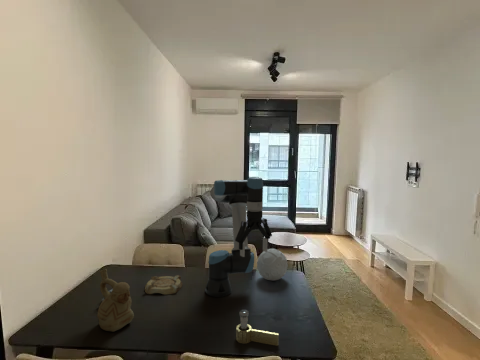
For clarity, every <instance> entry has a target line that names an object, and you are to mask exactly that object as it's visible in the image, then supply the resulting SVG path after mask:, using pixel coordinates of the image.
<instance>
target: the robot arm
mask: <svg viewBox="0 0 480 360" xmlns="http://www.w3.org/2000/svg"><path fill="white" fill-rule="evenodd" d="M209 193H210V197H211V198H212V200H214V201H216V202H218V203H222V204H223V203H224V204H226V203H228V206H229V207H230V209H231V218H232V220H231V221H232V237H233V240H232V241H233V248H232V249H231V252H229V251H228V250H227V249H226V250H225V249H224V250H223V249H220V250H215V251H213V252H211V253H210V254H209V256H208V279H207V281H206V286H205V293H206V295H208V296H210V297H213V298H214V297H216V298H220V297H226V296H228V295H230V294H231V293H232V285H231V282H230V280H229V279H230V278H229V275H231V274H233V275H234V274H247V273H251V272H252V271H253V269H254V266H255V253H254V252H253V251H252V250H251V249H252V248H250V247H249V242H248V241H249V240H248V236H249V234H250V233H251V232H252V231H255V230H258V231H259V232H260V233H261V235H262V236H263V237H262V252H263V251H265V252H267V249H268V245H269V239H271V237H273V234H272V232H271V229H270V226H269V224H268V219H267V218H264V217H263V205H264V204H263V202H264V197H263V196H264V195H263V194H264V179H263V178H262V177H248V178H247V179H244V180H242V179H239V180H237V179H236V180H232V179H230V180H227V179H226V180H224V179H223V180H222V179H220V180H219V179H218V180H215V181H214V183H213V186H212V187H211V189H210V192H209Z"/></svg>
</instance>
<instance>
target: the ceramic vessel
mask: <svg viewBox="0 0 480 360" xmlns="http://www.w3.org/2000/svg"><path fill="white" fill-rule="evenodd" d="M99 274H100V276H101V277H100V278H101V280H100V283H99V284H100V285H99V289H100V292H101V294H102V296H103V297H105V299H104V300H103V301H102V300H101V302H100V304H99V306H98V309H97V316H96V317H97V318H98V326H99V327H100V329H102V330H103V331H106V332H112V333H113V332H116V331H119V330H121V329H122V328H123V327H125V326H127V325H128V324H130V323H131V322H132V321H133V320H134V317H135V314H134V311H133V310H132V309H131V307H132V304H133V303H132V297H131V293H130V287H131V286H130V285H129V283H127V282H125V281H121V282H120V281H119V282H117V281H115V280H113V279H112V278H109V276H108V270H107V268H105V269H101V270H100V271H99ZM107 285H109V286H110V287H111V288H112V289H113V290H112V292H111V293H109V292H108V291H109V290H108V288H107Z"/></svg>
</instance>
